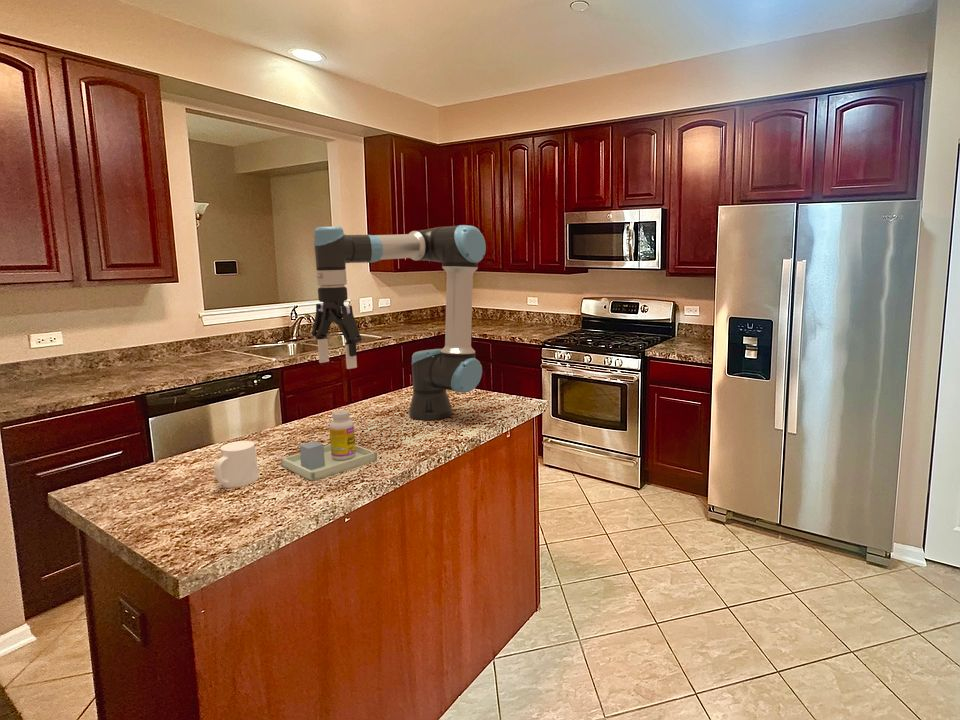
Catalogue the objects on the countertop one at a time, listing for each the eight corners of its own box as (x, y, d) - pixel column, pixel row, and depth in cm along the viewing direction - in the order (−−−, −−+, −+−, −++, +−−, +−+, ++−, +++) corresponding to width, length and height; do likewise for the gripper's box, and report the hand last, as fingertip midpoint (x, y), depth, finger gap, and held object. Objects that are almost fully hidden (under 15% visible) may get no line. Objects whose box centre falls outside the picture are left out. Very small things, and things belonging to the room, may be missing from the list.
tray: (344, 447, 170) (344, 440, 170) (377, 459, 159) (376, 452, 159) (281, 466, 156) (280, 458, 156) (312, 481, 145) (311, 473, 145)
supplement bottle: (350, 461, 157) (346, 415, 155) (327, 460, 158) (323, 415, 156) (359, 452, 163) (356, 409, 161) (337, 452, 165) (334, 408, 162)
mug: (240, 438, 151) (263, 441, 148) (243, 472, 153) (266, 476, 149) (202, 453, 140) (226, 457, 137) (206, 489, 142) (230, 493, 139)
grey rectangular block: (301, 466, 154) (299, 445, 153) (316, 461, 157) (314, 440, 156) (309, 470, 151) (308, 448, 150) (325, 465, 154) (323, 444, 153)
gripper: (295, 286, 158) (301, 361, 162) (346, 288, 141) (352, 373, 145) (319, 284, 163) (325, 357, 167) (371, 286, 146) (376, 368, 150)
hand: (337, 365), depth 156 cm, fingers open, 13 cm apart
